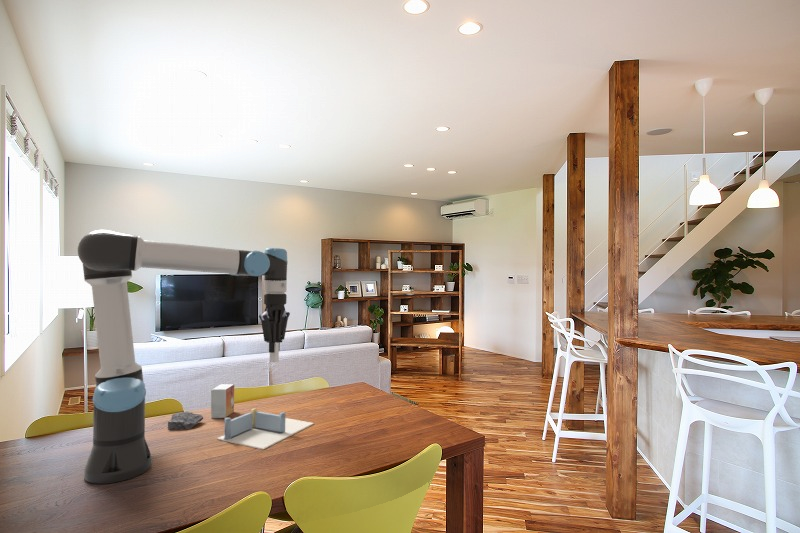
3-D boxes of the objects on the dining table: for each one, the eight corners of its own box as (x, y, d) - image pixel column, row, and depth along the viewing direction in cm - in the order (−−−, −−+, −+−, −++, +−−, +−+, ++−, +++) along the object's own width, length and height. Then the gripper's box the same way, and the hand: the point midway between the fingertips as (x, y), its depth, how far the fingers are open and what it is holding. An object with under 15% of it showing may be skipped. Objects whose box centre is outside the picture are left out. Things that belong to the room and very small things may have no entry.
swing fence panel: (250, 426, 149) (250, 408, 149) (254, 425, 151) (254, 407, 151) (282, 432, 144) (283, 414, 144) (286, 430, 145) (286, 412, 145)
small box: (225, 418, 160) (226, 389, 160) (210, 418, 160) (210, 389, 160) (234, 411, 168) (234, 383, 168) (219, 411, 168) (220, 383, 168)
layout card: (263, 449, 132) (263, 448, 132) (216, 439, 140) (216, 437, 140) (313, 424, 154) (313, 422, 154) (271, 416, 162) (271, 415, 162)
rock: (195, 430, 149) (196, 417, 149) (164, 430, 148) (164, 418, 148) (204, 422, 156) (204, 410, 157) (174, 423, 156) (174, 411, 156)
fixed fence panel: (227, 441, 138) (227, 419, 138) (223, 440, 139) (223, 418, 139) (252, 430, 148) (252, 410, 148) (248, 429, 149) (248, 409, 149)
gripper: (270, 293, 145) (268, 366, 144) (296, 292, 156) (295, 359, 156) (253, 293, 148) (251, 363, 148) (280, 292, 160) (278, 357, 159)
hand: (274, 361), depth 152 cm, fingers closed
